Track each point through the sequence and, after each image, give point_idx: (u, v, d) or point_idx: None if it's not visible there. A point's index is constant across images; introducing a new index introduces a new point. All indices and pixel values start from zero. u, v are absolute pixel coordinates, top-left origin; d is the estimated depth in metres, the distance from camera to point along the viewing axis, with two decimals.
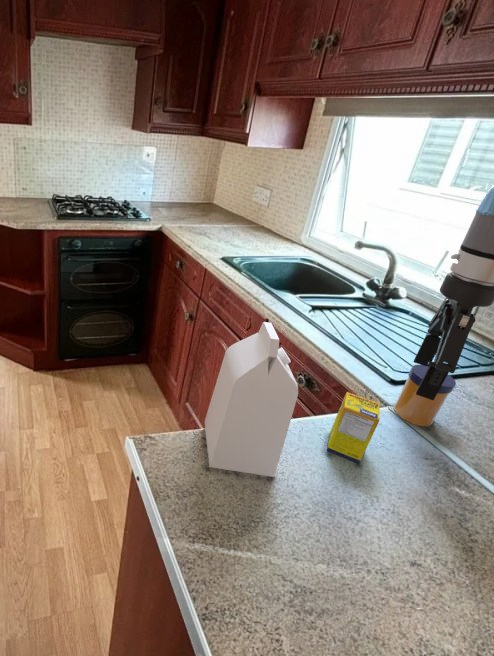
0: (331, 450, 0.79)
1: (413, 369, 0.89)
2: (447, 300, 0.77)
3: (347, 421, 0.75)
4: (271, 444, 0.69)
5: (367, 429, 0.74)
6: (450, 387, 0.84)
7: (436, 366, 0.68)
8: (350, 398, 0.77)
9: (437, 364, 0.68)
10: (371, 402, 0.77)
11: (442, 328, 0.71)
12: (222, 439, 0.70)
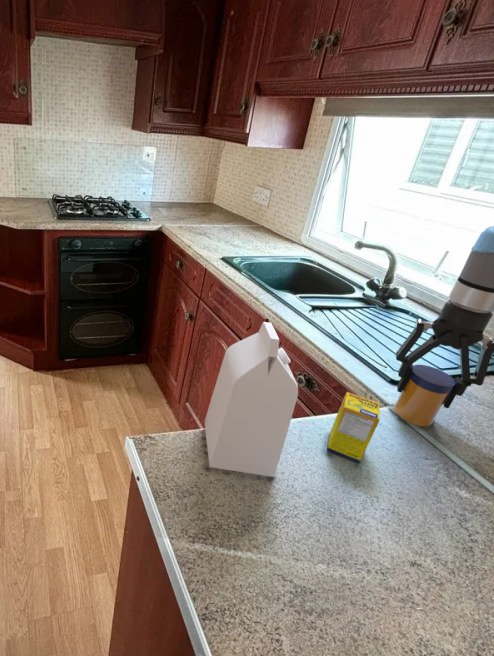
0: (331, 450, 0.79)
1: (413, 369, 0.89)
2: None
3: (347, 421, 0.75)
4: (271, 444, 0.69)
5: (367, 429, 0.74)
6: (450, 387, 0.84)
7: None
8: (350, 398, 0.77)
9: (397, 352, 0.91)
10: (371, 402, 0.77)
11: None
12: (222, 439, 0.70)
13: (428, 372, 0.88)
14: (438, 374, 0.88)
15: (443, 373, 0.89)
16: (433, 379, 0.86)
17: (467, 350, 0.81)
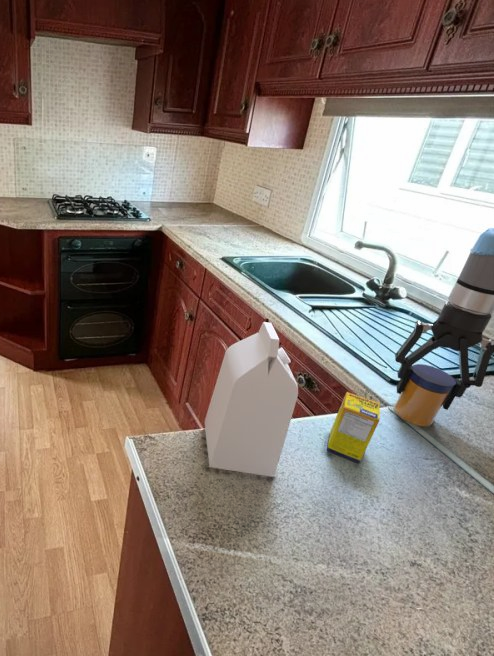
0: (331, 450, 0.79)
1: (433, 382, 0.85)
2: None
3: (347, 421, 0.75)
4: (271, 444, 0.69)
5: (367, 429, 0.74)
6: None
7: None
8: (350, 398, 0.77)
9: (396, 354, 0.91)
10: (371, 402, 0.77)
11: None
12: (222, 439, 0.70)
13: (429, 375, 0.87)
14: (427, 370, 0.89)
15: (420, 366, 0.90)
16: (444, 378, 0.86)
17: (466, 352, 0.82)
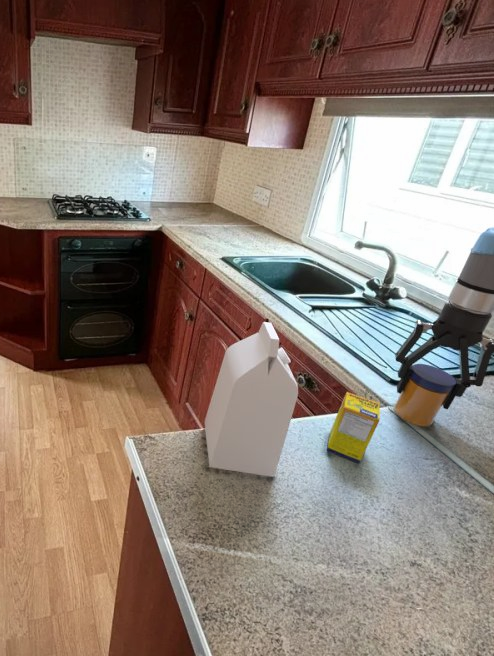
0: (331, 450, 0.79)
1: (454, 382, 0.85)
2: None
3: (347, 421, 0.75)
4: (271, 444, 0.69)
5: (367, 429, 0.74)
6: None
7: None
8: (350, 398, 0.77)
9: None
10: (371, 402, 0.77)
11: None
12: (222, 439, 0.70)
13: (437, 377, 0.86)
14: (426, 373, 0.87)
15: (419, 373, 0.87)
16: (436, 371, 0.89)
17: (466, 351, 0.81)
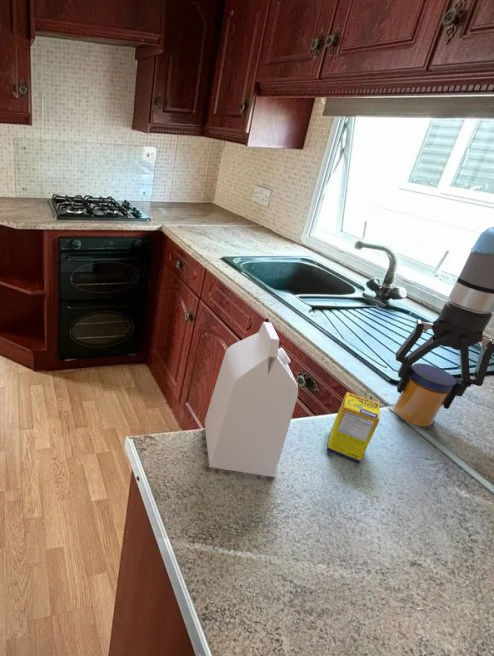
0: (331, 450, 0.79)
1: (438, 368, 0.90)
2: None
3: (347, 421, 0.75)
4: (271, 444, 0.69)
5: (367, 429, 0.74)
6: (414, 372, 0.88)
7: (396, 354, 0.91)
8: (350, 398, 0.77)
9: (396, 353, 0.91)
10: (371, 402, 0.77)
11: None
12: (222, 439, 0.70)
13: (438, 374, 0.87)
14: (438, 378, 0.86)
15: (443, 382, 0.84)
16: (423, 369, 0.89)
17: (467, 351, 0.81)
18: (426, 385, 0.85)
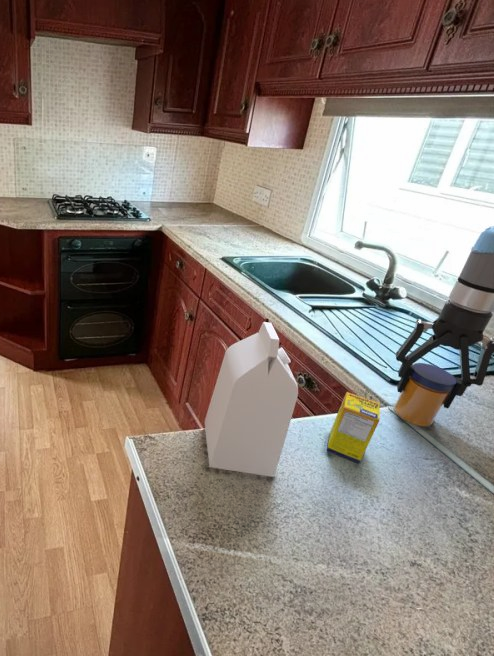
0: (331, 450, 0.79)
1: (415, 364, 0.90)
2: None
3: (347, 421, 0.75)
4: (271, 444, 0.69)
5: (367, 429, 0.74)
6: (442, 385, 0.84)
7: None
8: (350, 398, 0.77)
9: (397, 352, 0.91)
10: (371, 402, 0.77)
11: None
12: (222, 439, 0.70)
13: (431, 370, 0.88)
14: (442, 374, 0.87)
15: (450, 376, 0.87)
16: (429, 375, 0.86)
17: (467, 350, 0.81)
18: None
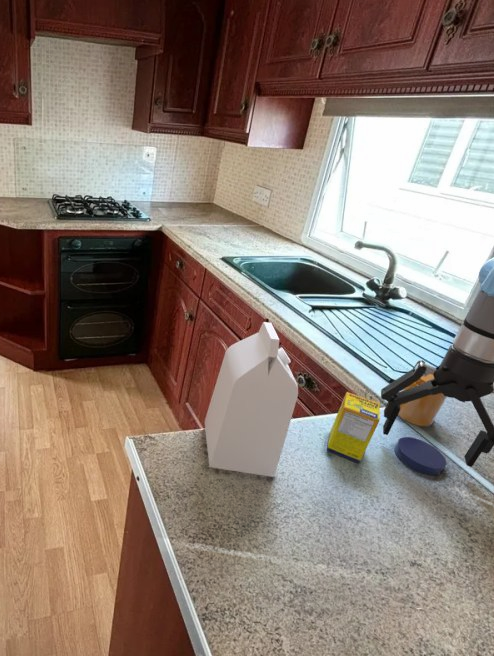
0: (331, 450, 0.79)
1: (401, 439, 0.82)
2: None
3: (347, 421, 0.75)
4: (271, 444, 0.69)
5: (367, 429, 0.74)
6: (429, 468, 0.75)
7: None
8: (350, 398, 0.77)
9: (383, 389, 0.80)
10: (371, 402, 0.77)
11: None
12: (222, 439, 0.70)
13: (418, 448, 0.80)
14: (430, 453, 0.79)
15: (439, 455, 0.78)
16: (415, 454, 0.78)
17: (480, 403, 0.70)
18: None
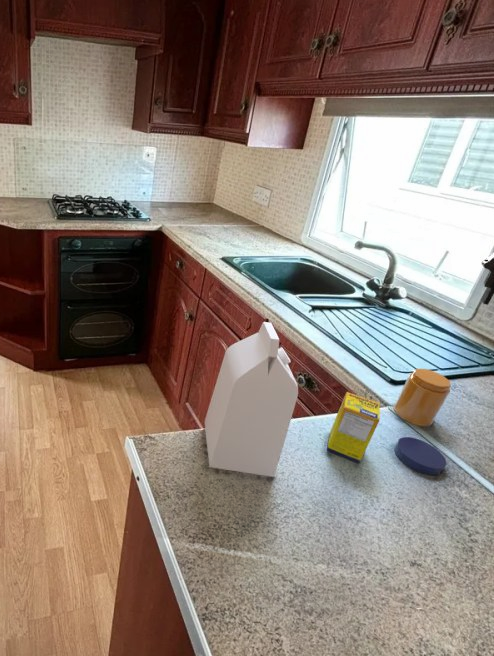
0: (331, 450, 0.79)
1: (401, 439, 0.82)
2: None
3: (347, 421, 0.75)
4: (271, 444, 0.69)
5: (367, 429, 0.74)
6: (429, 468, 0.75)
7: None
8: (350, 398, 0.77)
9: (483, 261, 0.85)
10: (371, 402, 0.77)
11: None
12: (222, 439, 0.70)
13: (418, 448, 0.80)
14: (430, 453, 0.79)
15: (439, 455, 0.78)
16: (415, 454, 0.78)
17: None
18: None
